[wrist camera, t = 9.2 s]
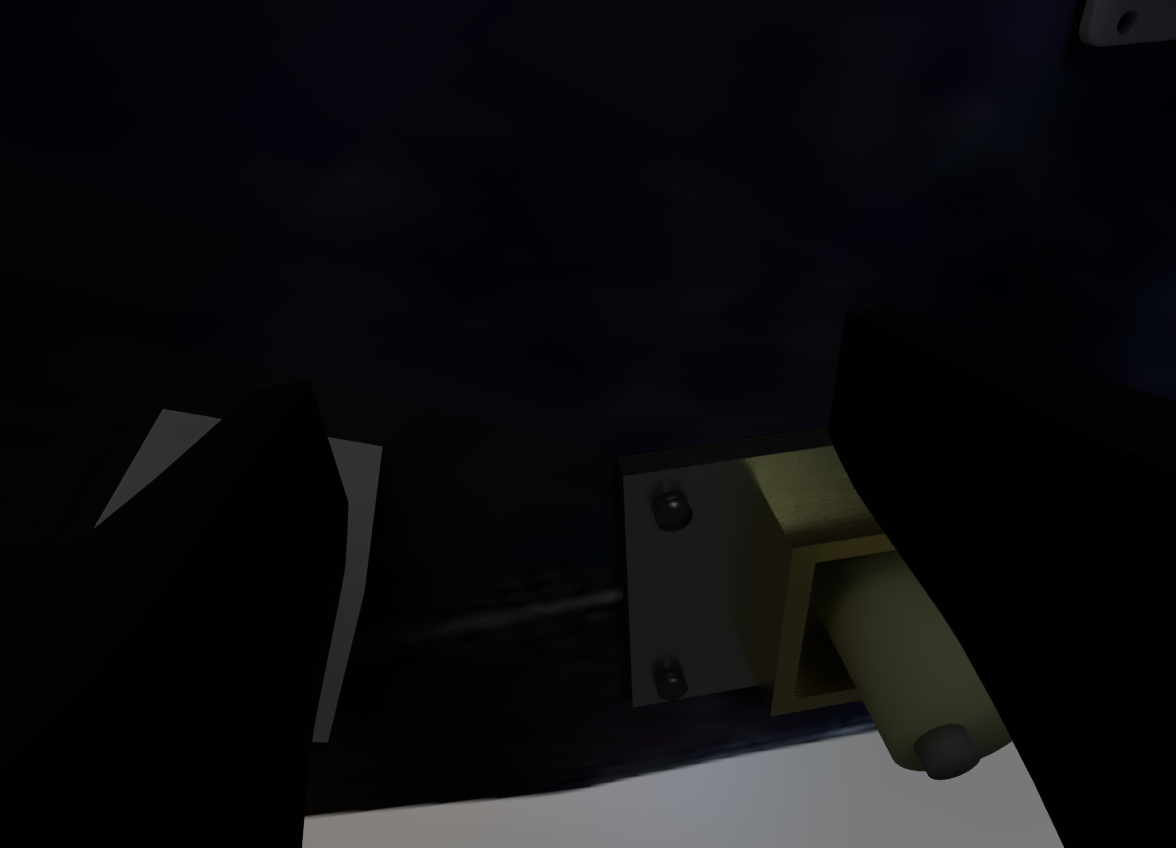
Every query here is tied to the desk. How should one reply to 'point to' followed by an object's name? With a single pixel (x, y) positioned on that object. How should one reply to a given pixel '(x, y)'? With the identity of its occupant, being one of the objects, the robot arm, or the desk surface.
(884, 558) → the switch lever
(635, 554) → the mounting bracket
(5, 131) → the desk surface
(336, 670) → the grey cube
